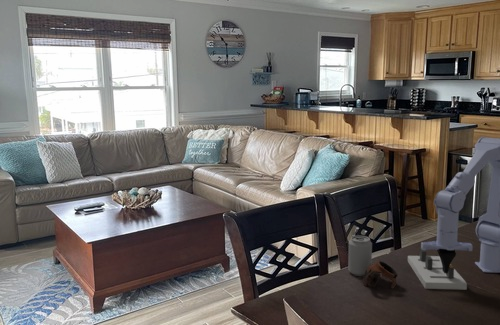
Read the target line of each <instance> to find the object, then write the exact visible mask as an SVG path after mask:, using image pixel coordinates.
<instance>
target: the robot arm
mask: <svg viewBox="0 0 500 325" xmlns="http://www.w3.org/2000/svg"><path fill="white" fill-rule="evenodd" d="M487 163H489V164H490V165H491V166H492V168H491V169H492V170H491V178H490V185H489V192H488V201H487V207H486V208H487V209H486V213H483V215H481V216H479V217H478V220H477V221H478V222H477V224H476V227H475V234H476V237H477V238H478V241H479V242H480V253H479V254H480V255H479V261H475V262H474V264H475V265H476V266H477V267H478V268H479V269H480V270H481V271H482V272H483V273H500V138H497V137H486V136H481V137H480V138H478V140H477V141H476V143H475V144H474V153H473V155H472V156H471V158H470V160H469V161H468V163H467V165H466V166H465V168H464V169H463V171H459V172H457V173H456V174H455V175H454V177H453V178H452V179H451V181H450V182H449V183H448V185H447V186H446V188H445V189H442V190H440V191H438V192H437V193H436V195H435V197H434V199H433V204H434V206H435V212H436V214H437V224H436V226H437V227H436V240H433V241H423V242H422V241H421V243H420V249H422V250H426V251H427V250H429V251H430V250H432V251H433V250H434V251H435V250H436V252H437V254H438V256H440V259H441V262H442V266H443V267H442V268H443V272H444V273H448V268H449V266H450V264H451V263H452V261H453V260H454V258H456V256H457V252H456V251H468V252H473V247H474V246H473V244H472V243H471V242H460V241H458V234H459V233H458V232H459V230H458V229H459V217H460V216H459V215H460V211H461V210H462V209H463V208H464V205H465V201H466V199H467V195H468V193H469V192H470V190H472V188H473V186H474V185H475V184H476V183H475V177H476V176H477V175H478V174H479V173H480V172H481V171H482V170H483V168H484V167H485V166H486V165H487Z"/></svg>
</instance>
